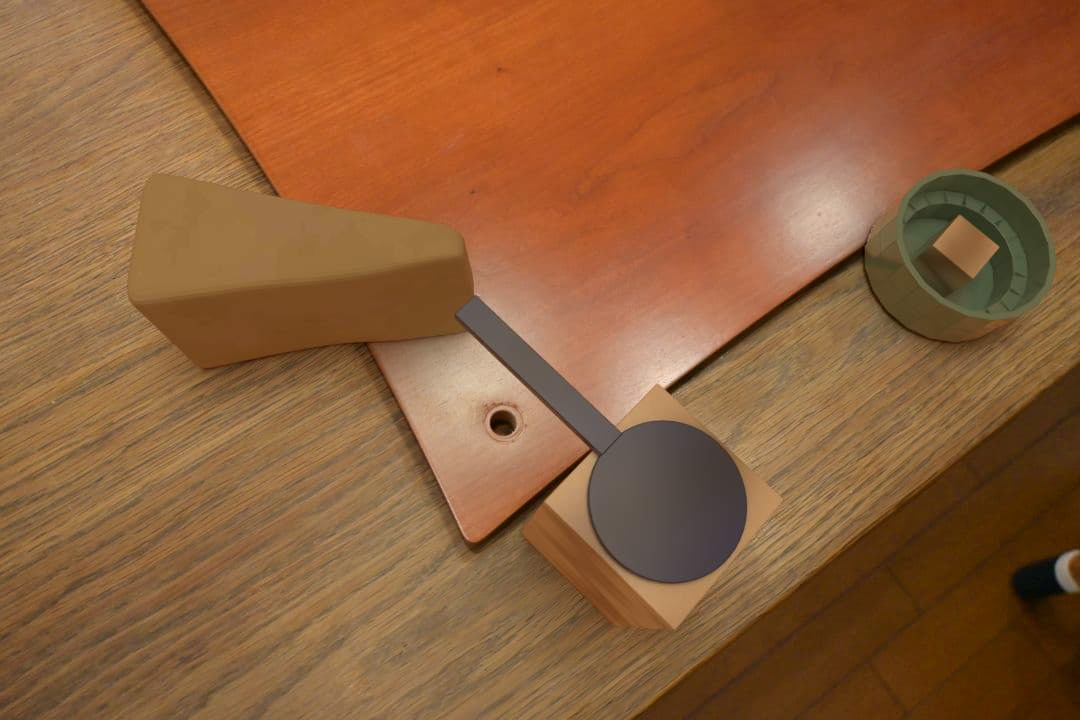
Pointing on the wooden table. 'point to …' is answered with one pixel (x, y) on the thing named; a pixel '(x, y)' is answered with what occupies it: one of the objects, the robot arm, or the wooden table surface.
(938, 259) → the wooden block
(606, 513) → the spoon stand
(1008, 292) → the green round bowl
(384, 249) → the tan wooden wedge
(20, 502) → the wooden table surface
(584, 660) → the wooden table surface
